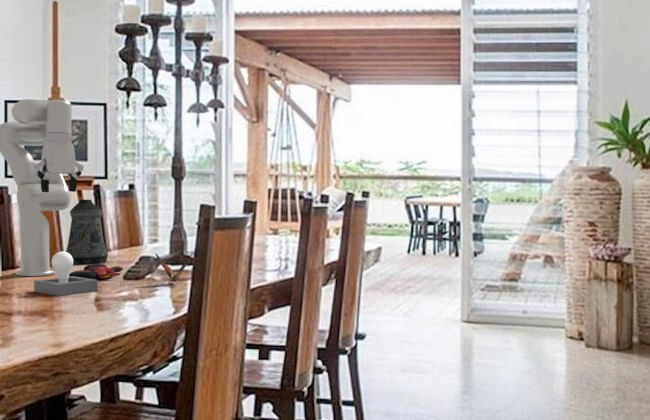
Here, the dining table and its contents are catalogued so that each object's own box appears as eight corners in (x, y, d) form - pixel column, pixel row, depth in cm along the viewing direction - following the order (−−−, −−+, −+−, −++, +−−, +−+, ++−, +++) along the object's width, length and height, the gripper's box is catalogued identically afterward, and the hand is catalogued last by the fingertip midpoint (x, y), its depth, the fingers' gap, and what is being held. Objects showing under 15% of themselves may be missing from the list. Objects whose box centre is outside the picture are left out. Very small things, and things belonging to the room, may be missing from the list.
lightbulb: (54, 290, 222) (52, 252, 221) (51, 288, 227) (49, 251, 227) (75, 288, 224) (74, 251, 224) (72, 286, 230) (71, 250, 229)
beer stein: (87, 265, 292) (87, 200, 291) (50, 262, 300) (49, 199, 299) (116, 261, 307) (116, 199, 306) (80, 259, 315) (79, 198, 314)
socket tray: (34, 291, 225) (34, 280, 225) (73, 286, 235) (72, 276, 235) (58, 296, 217) (58, 284, 217) (97, 290, 227) (97, 279, 227)
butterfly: (150, 286, 237) (150, 254, 236) (158, 282, 246) (158, 251, 246) (188, 287, 236) (188, 255, 236) (195, 282, 246) (195, 252, 245)
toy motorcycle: (67, 286, 246) (116, 279, 246) (64, 271, 246) (113, 263, 246) (88, 278, 271) (132, 271, 271) (86, 264, 271) (130, 257, 271)
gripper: (76, 139, 253) (76, 190, 254) (27, 137, 240) (27, 191, 241) (89, 139, 248) (89, 191, 250) (40, 137, 235) (40, 192, 236)
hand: (59, 191), depth 245 cm, fingers open, 9 cm apart
